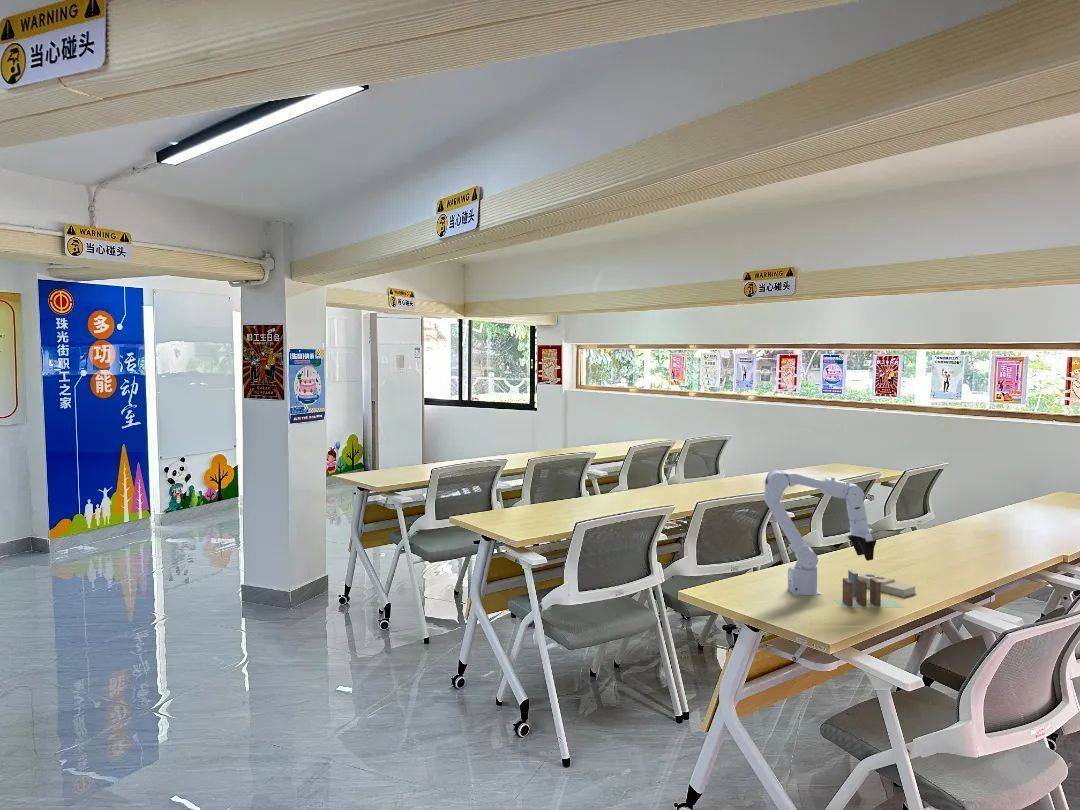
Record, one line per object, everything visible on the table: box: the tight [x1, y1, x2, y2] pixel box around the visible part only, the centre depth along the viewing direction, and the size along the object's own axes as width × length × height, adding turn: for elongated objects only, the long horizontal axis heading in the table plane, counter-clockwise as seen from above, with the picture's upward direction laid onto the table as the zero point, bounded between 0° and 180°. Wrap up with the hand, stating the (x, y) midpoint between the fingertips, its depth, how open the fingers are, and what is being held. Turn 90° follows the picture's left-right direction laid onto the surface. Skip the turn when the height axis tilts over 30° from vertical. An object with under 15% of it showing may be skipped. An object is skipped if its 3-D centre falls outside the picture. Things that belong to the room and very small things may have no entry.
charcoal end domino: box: [847, 569, 859, 597], centre depth 252 cm, size 1×5×8 cm, turn 178°
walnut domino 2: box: [855, 578, 868, 608], centre depth 241 cm, size 1×5×8 cm, turn 178°
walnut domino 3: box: [869, 578, 882, 608], centre depth 241 cm, size 1×5×8 cm, turn 178°
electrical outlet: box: [858, 571, 916, 598], centre depth 257 cm, size 7×4×18 cm
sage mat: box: [833, 599, 904, 608], centre depth 241 cm, size 20×7×1 cm, turn 88°
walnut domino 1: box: [842, 577, 854, 608], centre depth 241 cm, size 1×5×8 cm, turn 178°
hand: (865, 557), depth 251 cm, fingers open, 7 cm apart
